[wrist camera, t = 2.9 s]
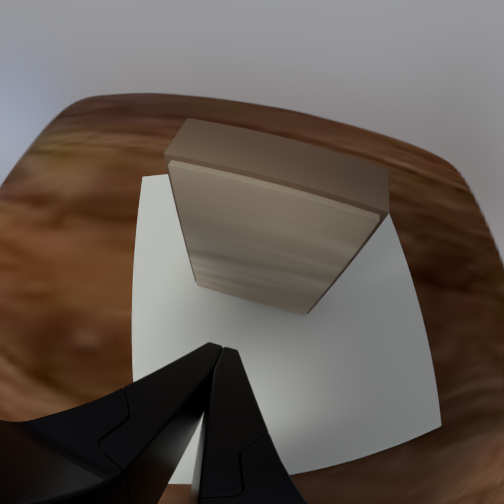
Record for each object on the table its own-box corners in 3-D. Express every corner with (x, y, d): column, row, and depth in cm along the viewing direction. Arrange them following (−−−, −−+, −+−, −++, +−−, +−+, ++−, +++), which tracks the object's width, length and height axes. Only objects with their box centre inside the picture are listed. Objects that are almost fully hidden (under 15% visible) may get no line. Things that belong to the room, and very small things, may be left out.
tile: (307, 317, 15) (389, 219, 7) (194, 285, 15) (160, 158, 7) (313, 285, 16) (388, 169, 8) (205, 255, 16) (187, 118, 8)
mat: (435, 425, 13) (441, 425, 12) (148, 479, 11) (144, 482, 10) (367, 174, 21) (370, 169, 20) (144, 182, 19) (142, 176, 18)
